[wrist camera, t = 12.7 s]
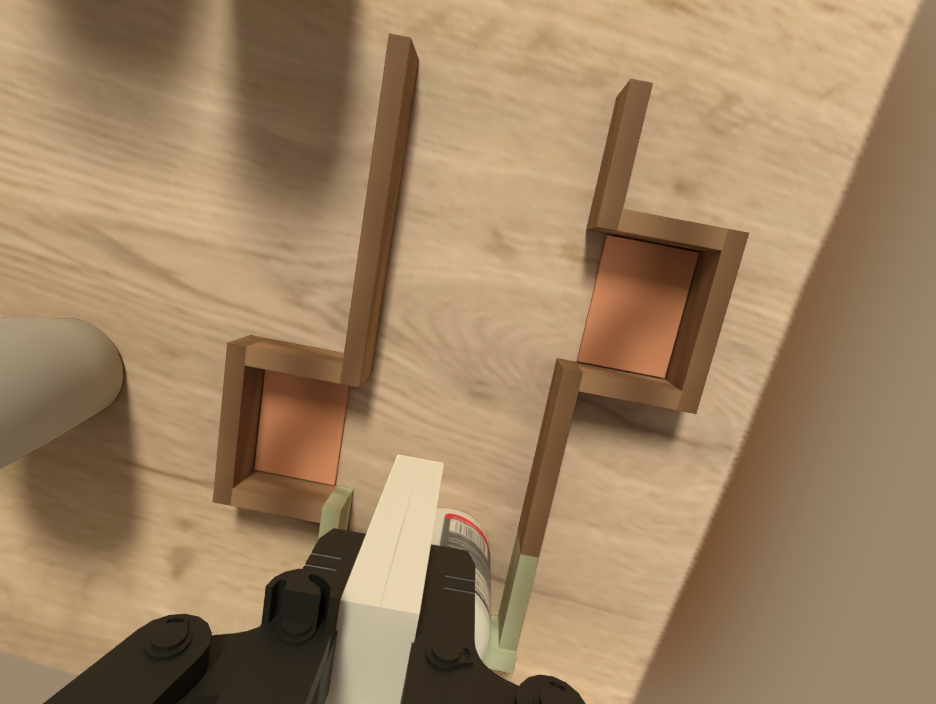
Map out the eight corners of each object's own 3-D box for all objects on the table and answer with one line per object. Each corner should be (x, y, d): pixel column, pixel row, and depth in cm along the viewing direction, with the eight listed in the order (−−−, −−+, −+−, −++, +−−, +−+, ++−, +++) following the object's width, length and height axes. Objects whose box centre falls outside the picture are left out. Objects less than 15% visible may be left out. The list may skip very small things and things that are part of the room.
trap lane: (226, 576, 31) (198, 611, 28) (281, 34, 24) (252, 3, 22) (606, 652, 30) (618, 694, 27) (755, 122, 24) (792, 104, 21)
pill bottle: (414, 593, 30) (379, 750, 21) (391, 515, 29) (342, 641, 20) (500, 577, 30) (504, 729, 20) (478, 496, 29) (472, 616, 19)
